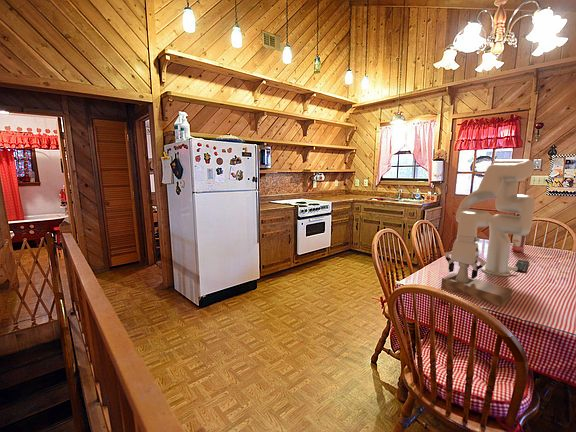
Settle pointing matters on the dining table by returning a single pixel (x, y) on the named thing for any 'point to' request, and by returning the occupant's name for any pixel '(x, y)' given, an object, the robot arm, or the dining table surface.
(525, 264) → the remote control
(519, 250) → the liquor
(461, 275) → the salt shaker
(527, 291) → the dining table surface
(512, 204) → the robot arm
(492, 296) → the caddy
